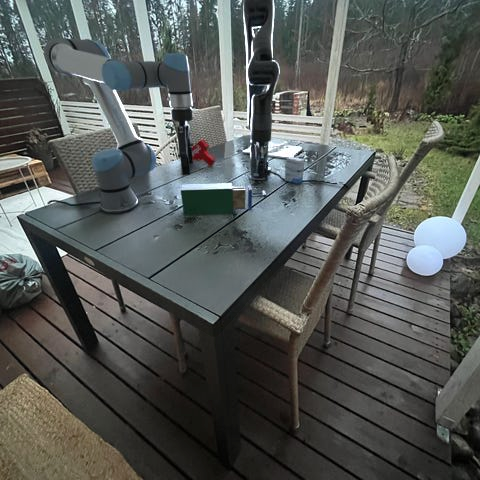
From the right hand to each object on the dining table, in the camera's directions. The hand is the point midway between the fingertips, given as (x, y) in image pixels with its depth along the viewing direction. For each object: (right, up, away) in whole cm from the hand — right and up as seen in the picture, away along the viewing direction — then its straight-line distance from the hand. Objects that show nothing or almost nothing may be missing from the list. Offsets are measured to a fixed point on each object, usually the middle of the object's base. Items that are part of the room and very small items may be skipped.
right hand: (259, 173), depth 107 cm
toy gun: (-33, +21, +62) cm, 73 cm away
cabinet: (-21, -14, +7) cm, 26 cm away
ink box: (+20, +5, +36) cm, 42 cm away
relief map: (+16, +37, +87) cm, 96 cm away
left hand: (-28, +1, -3) cm, 28 cm away
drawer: (-10, -13, +8) cm, 18 cm away
